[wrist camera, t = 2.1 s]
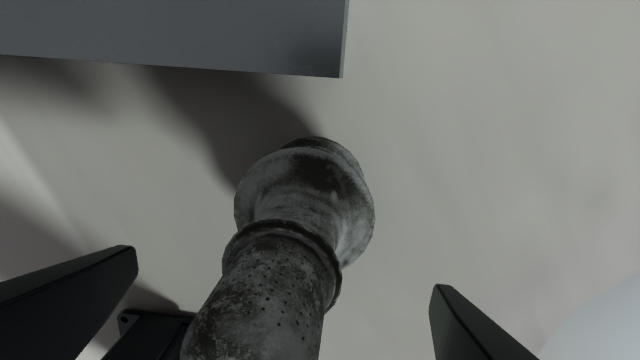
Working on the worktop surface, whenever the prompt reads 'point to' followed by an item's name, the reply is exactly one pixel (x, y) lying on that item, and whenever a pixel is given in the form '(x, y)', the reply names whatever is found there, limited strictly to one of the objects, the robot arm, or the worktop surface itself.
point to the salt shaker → (285, 255)
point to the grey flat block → (183, 33)
